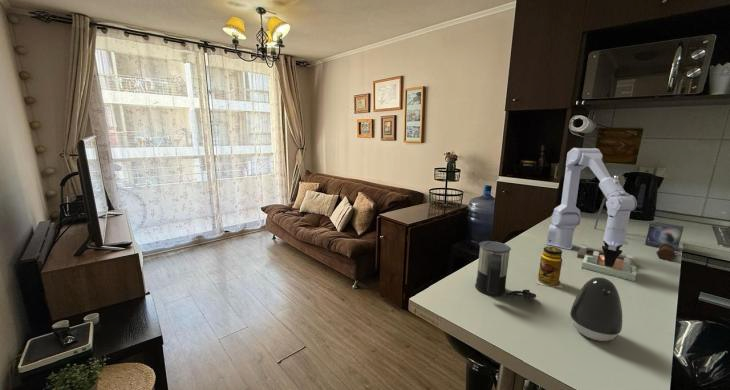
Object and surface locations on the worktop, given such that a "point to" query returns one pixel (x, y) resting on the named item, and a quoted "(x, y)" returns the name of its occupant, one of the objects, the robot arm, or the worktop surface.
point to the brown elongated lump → (666, 252)
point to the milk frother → (495, 270)
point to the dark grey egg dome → (597, 310)
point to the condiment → (550, 267)
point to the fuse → (618, 264)
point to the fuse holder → (585, 250)
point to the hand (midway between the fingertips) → (609, 263)
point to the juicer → (621, 181)
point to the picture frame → (663, 234)
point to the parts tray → (609, 269)
